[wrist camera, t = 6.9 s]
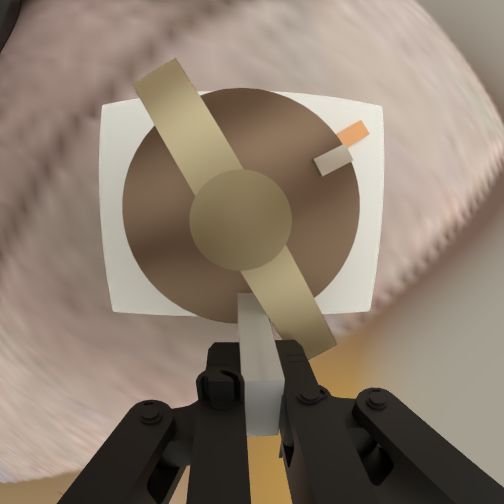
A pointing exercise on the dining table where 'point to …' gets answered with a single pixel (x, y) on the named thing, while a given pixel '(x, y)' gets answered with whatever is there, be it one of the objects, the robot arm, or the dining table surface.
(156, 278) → the capstan dial
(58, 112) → the dining table surface
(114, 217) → the base plate
